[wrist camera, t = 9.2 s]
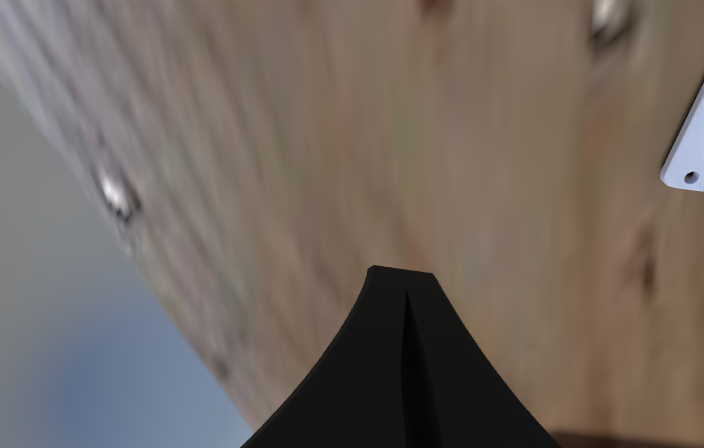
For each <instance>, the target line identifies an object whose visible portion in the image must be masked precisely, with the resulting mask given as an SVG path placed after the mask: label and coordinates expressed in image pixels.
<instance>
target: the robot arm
mask: <svg viewBox="0 0 704 448" xmlns="http://www.w3.org/2000/svg"><path fill="white" fill-rule="evenodd" d="M690 172H693V175H692V177H691V178H689V179H687V180H684V178H685V176H686V175H687V174H688V173H690ZM660 178H661V180H662V181H663V182H664V183H665V184H666V185H668V186H670V187H675V188H682V189H689V190H696V191H703V192H704V83H703V85H702V87H701V89H700V91H699V93H698V96H697V98H696V100H695V102H694V104H693V106H692V108H691V110H690V112H689V114H688V116H687V118H686V120H685V122H684V124H683V127H682V129H681V131H680V133H679V135H678V137H677V139H676V141H675V143H674V145H673V147H672V149H671V151H670V153H669V156H668V158H667V160H666V162H665V164H664V166H663V168H662V170H661V173H660ZM240 448H561V447H560V446H559V445H558V444H557V442H556V441H555V440H554V439H553V438H552V437H551V436H550V435H549V434H548V433H547V431H546V430H545V429H544V428H543V427H542V426H541V425H540V424H539V422H538V421H537V420H536V419H535V418H534V417H533V416H532V415H531V414H530V412H529V411H528V410H527V409H526V408H525V407H524V406H523V404H522V403H521V402H520V401H519V400H518V398H517V397H516V396H515V395H514V393H513V392H512V391H511V390H510V388H509V387H508V386H507V384H506V383H505V382H504V381H503V379H502V378H501V377H500V375H499V374H498V373H497V371H496V370H495V369H494V367H493V366H492V365H491V363H490V362H489V361H488V359H487V358H486V356H485V355H484V354H483V352H482V351H481V349H480V348H479V346H478V345H477V343H476V342H475V340H474V339H473V337H472V336H471V334H470V333H469V331H468V330H467V329H466V327H465V325H464V324H463V322H462V321H461V319H460V318H459V316H458V314H457V313H456V311H455V309H454V308H453V306H452V305H451V303H450V301H449V300H448V298H447V296H446V294H445V293H444V291H443V289H442V288H441V286H440V284H439V282H438V281H437V279H436V277H435V276H434V275H433V273H427V272H419V271H412V270H405V269H398V268H391V267H384V266H377V265H373V266H372V267H370V268H368V270H367V276H366V279H365V282H364V285H363V288H362V290H361V292H360V294H359V296H358V298H357V300H356V302H355V304H354V306H353V308H352V310H351V311H350V313H349V315H348V317H347V318H346V320H345V322H344V324H343V325H342V327H341V328H340V330H339V332H338V333H337V334H336V336H335V337H334V339H333V340H332V342H331V343H330V345H329V346H328V348H327V349H326V350H325V352H324V353H323V355H322V356H321V358H320V359H319V360H318V362H317V363H316V364H315V366H314V367H313V368H312V369H311V371H310V372H309V373H308V374H307V376H306V377H305V378H304V379H303V381H302V382H301V383H300V384H299V385H298V387H297V388H296V389H295V390H294V391H293V393H292V394H291V395H290V396H289V397H288V398H287V399H286V401H285V402H284V403H283V404H282V405H281V406H280V407H279V408H278V409H277V410H276V411H275V412H274V413H273V415H272V416H271V417H270V418H269V419H268V420H267V421H266V422H265V423H264V424H263V425H262V426H261V427H260V428H259V429H258V430H257V431H256V432H255V433H254V434H253V435H252V437H251V438H250V439H248V440H247V442H246V443H244V444H243V445H242V446H241V447H240Z"/></svg>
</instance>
